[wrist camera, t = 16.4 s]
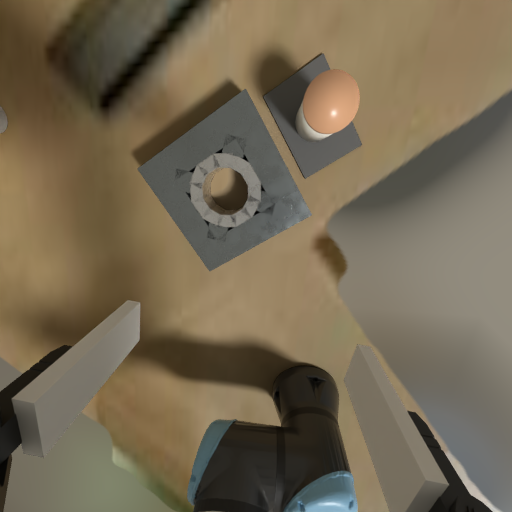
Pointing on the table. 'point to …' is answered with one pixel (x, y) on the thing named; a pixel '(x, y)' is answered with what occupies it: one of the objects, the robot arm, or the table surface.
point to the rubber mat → (284, 112)
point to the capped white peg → (327, 105)
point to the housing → (212, 161)
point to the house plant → (3, 120)
